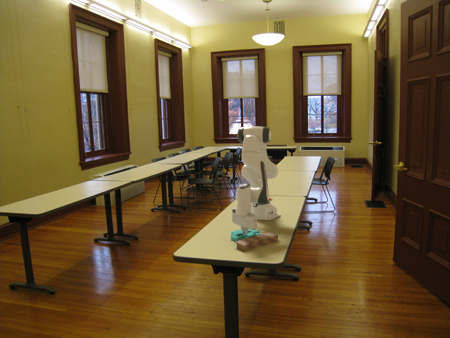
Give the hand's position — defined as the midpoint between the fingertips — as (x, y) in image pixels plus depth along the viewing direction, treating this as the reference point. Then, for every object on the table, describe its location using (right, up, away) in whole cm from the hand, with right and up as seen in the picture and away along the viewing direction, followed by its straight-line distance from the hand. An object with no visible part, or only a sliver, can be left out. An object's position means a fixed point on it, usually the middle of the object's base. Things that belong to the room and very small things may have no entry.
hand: (244, 233), depth 219 cm
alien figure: (+1, -3, +1) cm, 3 cm away
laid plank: (+7, -4, -12) cm, 14 cm away
